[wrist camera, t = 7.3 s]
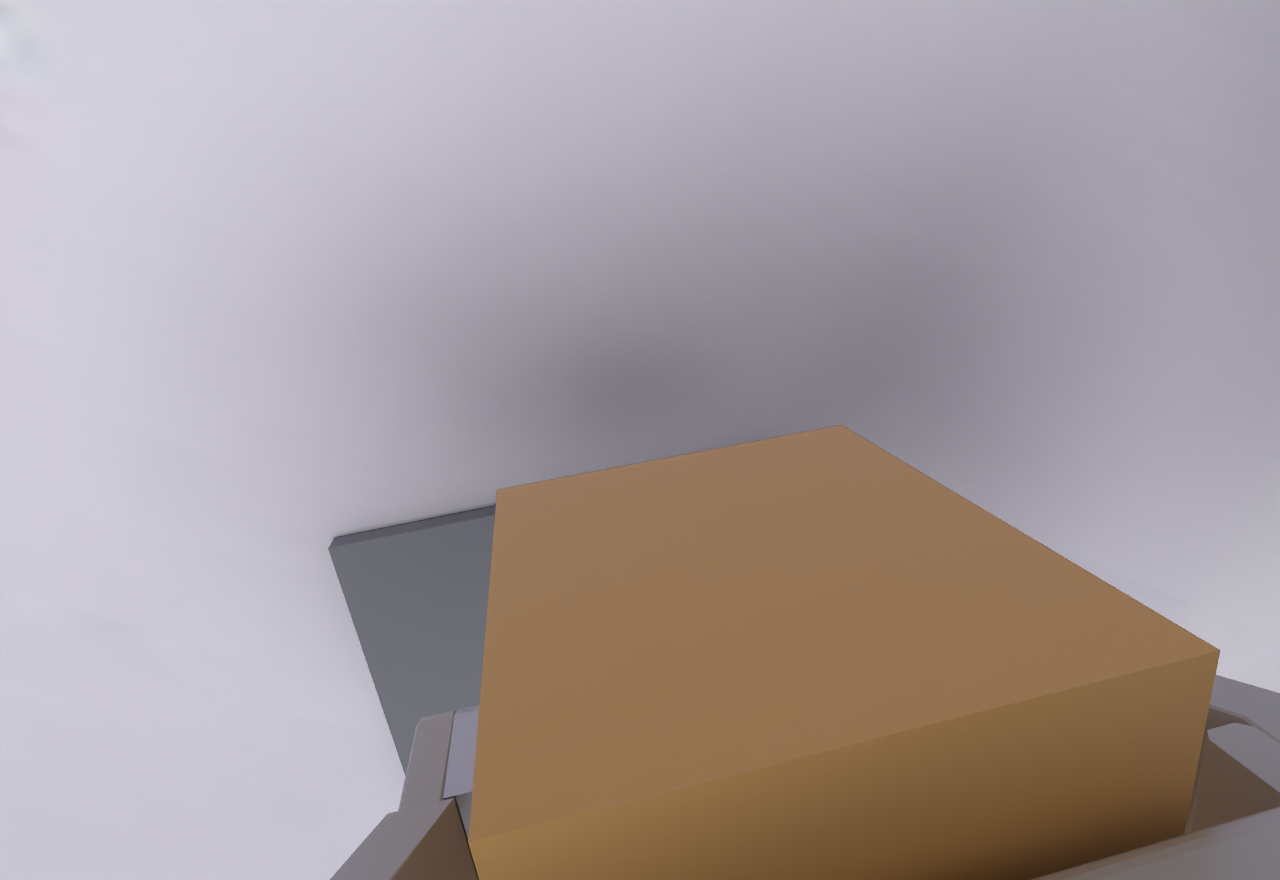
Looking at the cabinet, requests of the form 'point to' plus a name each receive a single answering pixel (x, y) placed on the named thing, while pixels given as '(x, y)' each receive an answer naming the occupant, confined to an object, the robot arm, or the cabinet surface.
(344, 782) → the cabinet surface
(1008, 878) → the wooden cube
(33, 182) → the cabinet surface
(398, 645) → the plate
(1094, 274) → the cabinet surface
